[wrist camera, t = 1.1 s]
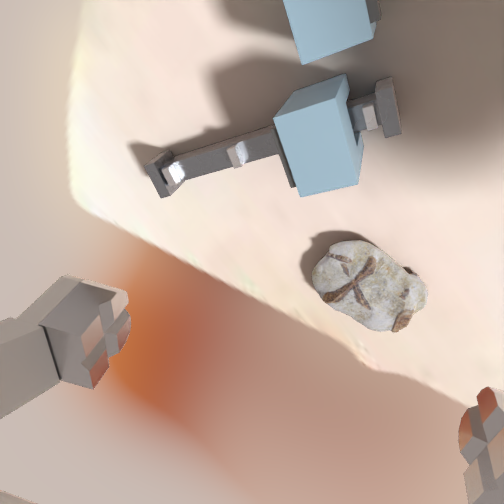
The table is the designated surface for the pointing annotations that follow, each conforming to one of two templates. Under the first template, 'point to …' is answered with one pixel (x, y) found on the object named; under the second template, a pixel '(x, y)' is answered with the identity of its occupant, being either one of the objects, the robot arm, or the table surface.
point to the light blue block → (330, 25)
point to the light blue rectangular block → (318, 138)
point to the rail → (267, 142)
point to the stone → (368, 286)
